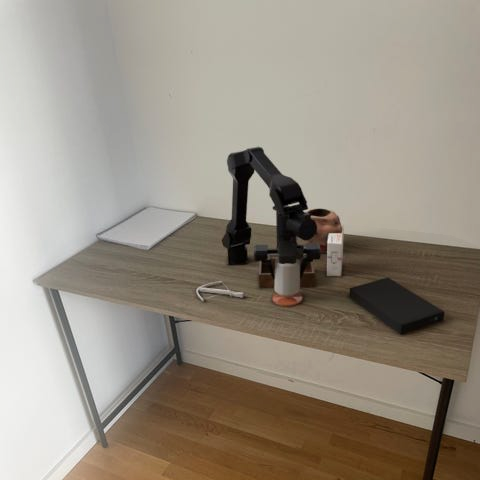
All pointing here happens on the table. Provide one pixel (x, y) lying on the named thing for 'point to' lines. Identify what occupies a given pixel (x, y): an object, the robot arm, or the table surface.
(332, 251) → the ink cartridge box
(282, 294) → the can
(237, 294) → the crossbow
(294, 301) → the coaster
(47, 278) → the table surface
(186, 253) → the table surface
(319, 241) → the decorative planter
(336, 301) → the table surface
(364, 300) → the external hard drive
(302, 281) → the wooden tray
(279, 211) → the robot arm
